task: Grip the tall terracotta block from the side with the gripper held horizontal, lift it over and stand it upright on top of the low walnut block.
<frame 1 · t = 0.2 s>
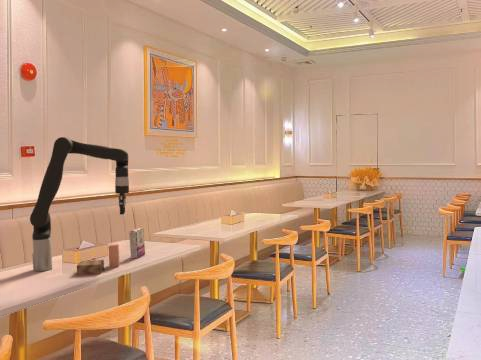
hand: (122, 213, 281), 29 cm above the table, tool pointing down, fingers open, 8 cm apart
terracotta block: (114, 266, 279), on the table
walnut block: (91, 271, 267), on the table
candy bar box: (137, 256, 304), on the table
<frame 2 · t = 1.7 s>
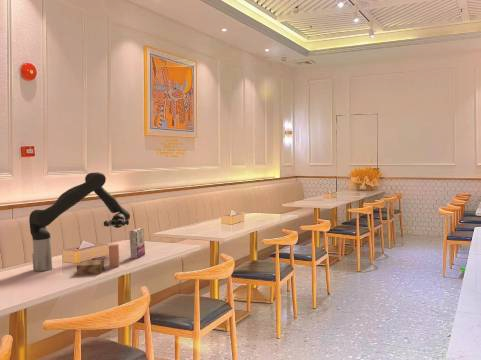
hand: (115, 224, 289), 22 cm above the table, tool horizontal, fingers open, 8 cm apart
nothing on the table moved.
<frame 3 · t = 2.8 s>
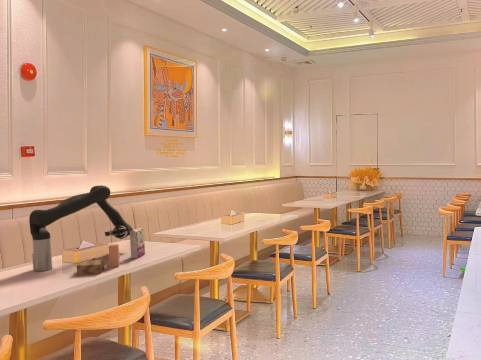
hand: (115, 232, 290), 17 cm above the table, tool horizontal, fingers open, 8 cm apart
nothing on the table moved.
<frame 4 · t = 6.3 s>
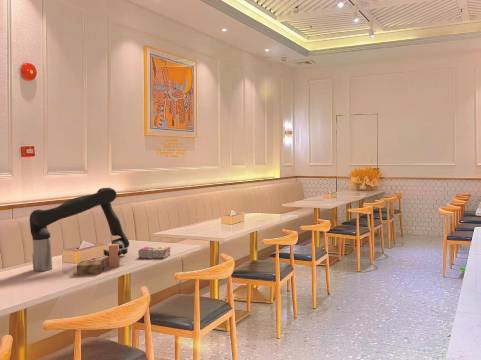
hand: (113, 254, 276), 7 cm above the table, tool horizontal, fingers closed on terracotta block, 5 cm apart
terracotta block: (114, 265, 279), on the table, touching gripper
candy bar box: (141, 252, 303), point 3 cm above the table
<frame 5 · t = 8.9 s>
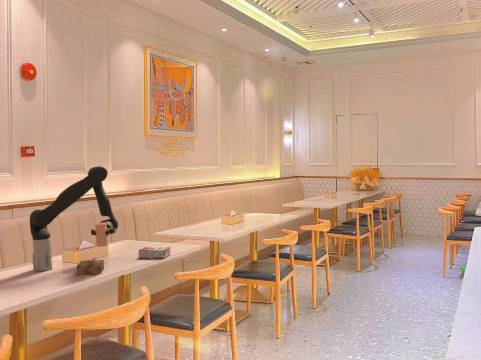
hand: (100, 233, 270), 20 cm above the table, tool horizontal, fingers closed on terracotta block, 5 cm apart
terracotta block: (102, 245, 273), point 13 cm above the table, touching gripper
everything else where it was.
when the fingers open (12 cm above the table, at t = 11.8 s): terracotta block stays where it is, resting on walnut block.
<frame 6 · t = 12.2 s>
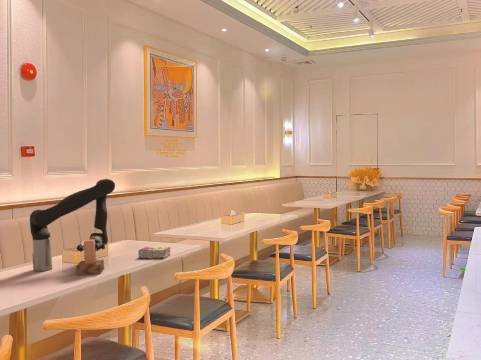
hand: (89, 249, 265), 12 cm above the table, tool horizontal, fingers open, 8 cm apart
terracotta block: (90, 262, 267), point 5 cm above the table, touching walnut block
everything else where it was.
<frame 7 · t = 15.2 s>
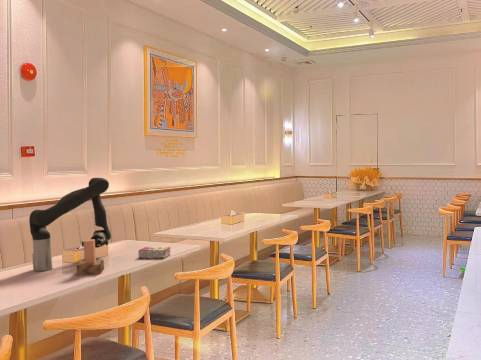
hand: (93, 245, 277), 12 cm above the table, tool horizontal, fingers open, 8 cm apart
nothing on the table moved.
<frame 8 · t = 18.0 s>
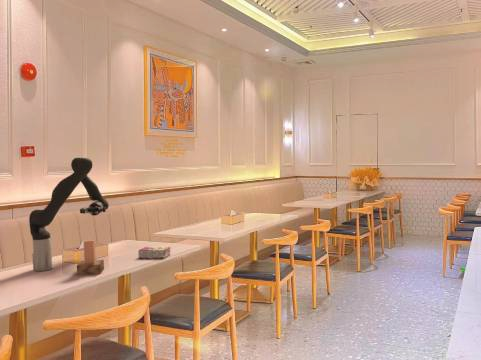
hand: (91, 211, 287), 30 cm above the table, tool horizontal, fingers open, 8 cm apart
nothing on the table moved.
at the end: terracotta block inside the target area on the walnut block (0.0 cm from its centre), point 5.0 cm above the walnut block's base; terracotta block tilted 0°; the gripper is holding nothing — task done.
